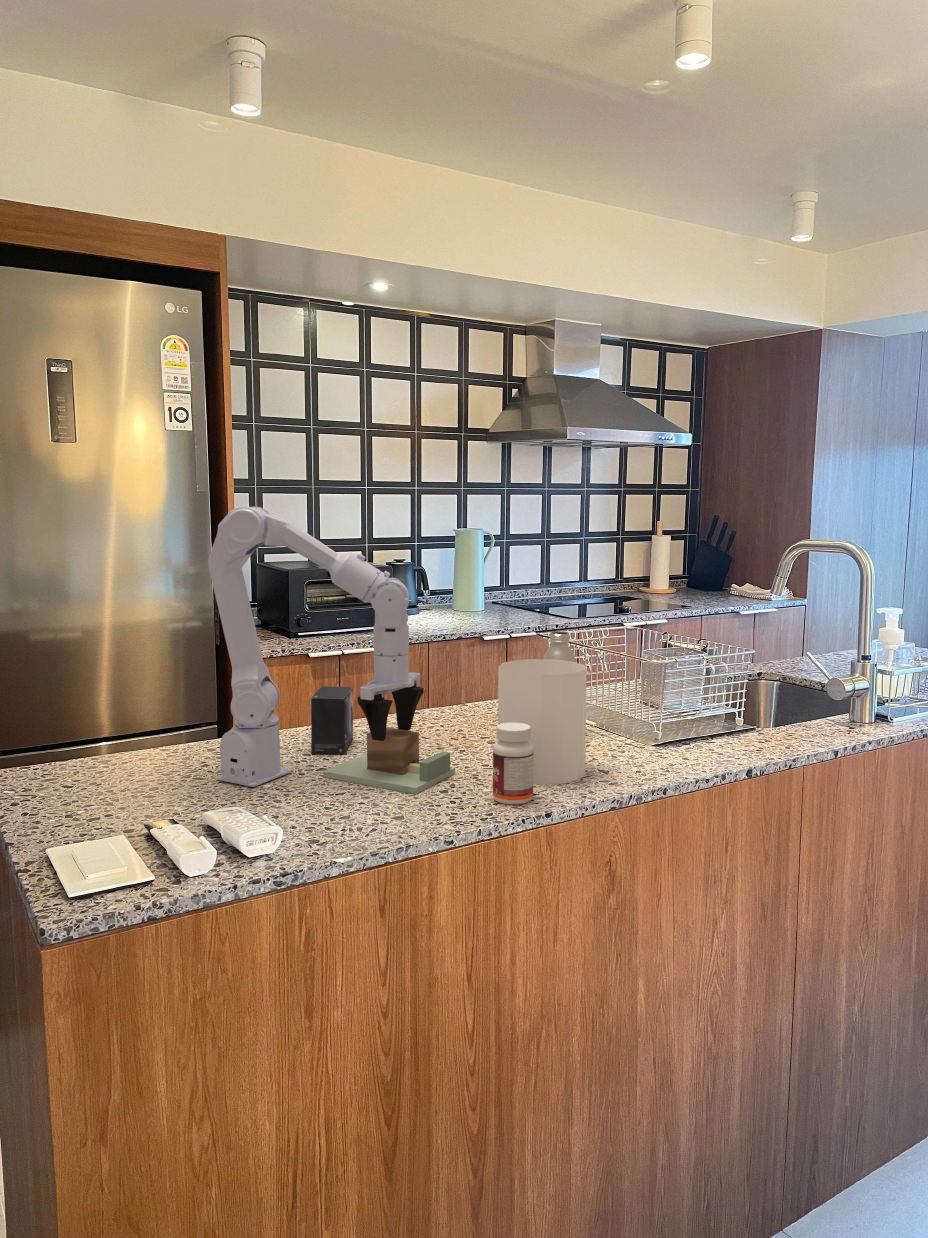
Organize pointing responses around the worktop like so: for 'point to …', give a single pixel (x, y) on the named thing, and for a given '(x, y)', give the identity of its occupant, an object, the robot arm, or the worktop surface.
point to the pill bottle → (513, 764)
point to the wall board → (410, 782)
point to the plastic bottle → (559, 647)
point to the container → (547, 714)
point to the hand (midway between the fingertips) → (391, 734)
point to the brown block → (393, 751)
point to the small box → (331, 720)
